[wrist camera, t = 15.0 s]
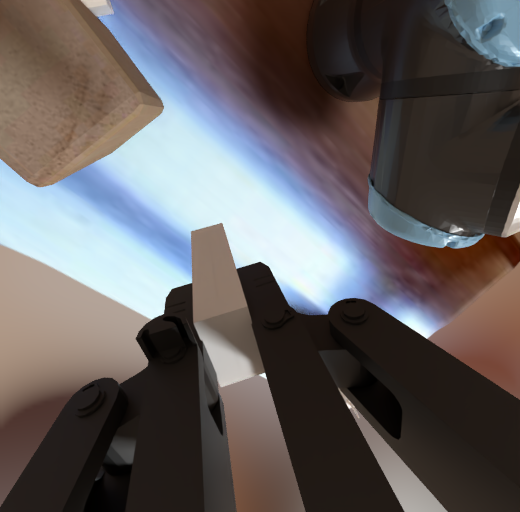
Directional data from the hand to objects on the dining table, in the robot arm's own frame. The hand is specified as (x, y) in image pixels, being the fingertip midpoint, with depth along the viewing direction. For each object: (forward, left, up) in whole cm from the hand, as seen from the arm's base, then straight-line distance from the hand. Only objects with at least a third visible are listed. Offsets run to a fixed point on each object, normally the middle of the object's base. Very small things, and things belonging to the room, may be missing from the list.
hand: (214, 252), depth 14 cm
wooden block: (+8, -10, -30) cm, 32 cm away
